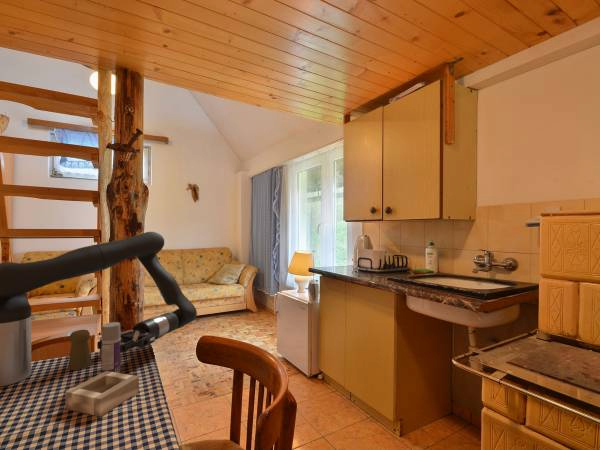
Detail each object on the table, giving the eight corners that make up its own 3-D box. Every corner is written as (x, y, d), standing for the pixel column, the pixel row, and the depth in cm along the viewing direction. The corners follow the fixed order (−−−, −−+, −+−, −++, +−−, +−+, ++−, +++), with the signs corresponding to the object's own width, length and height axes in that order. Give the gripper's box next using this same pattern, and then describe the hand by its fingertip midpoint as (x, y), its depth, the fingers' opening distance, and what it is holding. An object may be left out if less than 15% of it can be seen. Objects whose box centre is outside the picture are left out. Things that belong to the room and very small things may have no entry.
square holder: (65, 408, 73) (65, 391, 73) (106, 385, 83) (106, 370, 83) (100, 416, 70) (100, 399, 70) (138, 391, 80) (138, 376, 80)
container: (116, 370, 92) (116, 321, 92) (123, 375, 89) (123, 323, 89) (98, 376, 88) (99, 325, 88) (105, 381, 86) (106, 328, 86)
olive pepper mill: (78, 371, 91) (78, 334, 92) (62, 369, 93) (62, 333, 93) (96, 362, 97) (96, 328, 97) (80, 361, 99) (80, 327, 99)
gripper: (135, 316, 106) (90, 332, 90) (169, 320, 102) (128, 337, 86) (134, 338, 106) (90, 357, 90) (168, 342, 102) (128, 363, 86)
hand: (109, 347), depth 88 cm, fingers open, 8 cm apart
